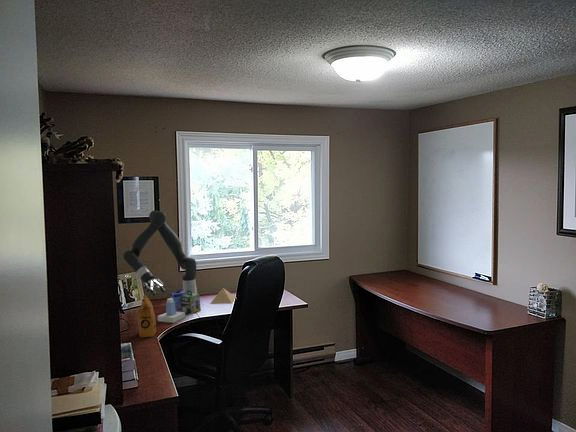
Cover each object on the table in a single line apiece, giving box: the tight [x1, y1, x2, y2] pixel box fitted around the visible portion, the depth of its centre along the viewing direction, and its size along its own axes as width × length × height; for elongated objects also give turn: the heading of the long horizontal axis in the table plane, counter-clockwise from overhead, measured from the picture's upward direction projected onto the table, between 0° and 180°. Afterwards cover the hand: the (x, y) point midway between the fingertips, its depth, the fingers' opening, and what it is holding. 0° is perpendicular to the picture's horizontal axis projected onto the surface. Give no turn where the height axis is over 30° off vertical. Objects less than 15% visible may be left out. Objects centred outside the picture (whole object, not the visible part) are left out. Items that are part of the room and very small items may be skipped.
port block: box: [157, 311, 186, 324], centre depth 285 cm, size 12×12×4 cm
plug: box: [165, 298, 176, 316], centre depth 285 cm, size 4×4×13 cm
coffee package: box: [137, 294, 157, 339], centre depth 257 cm, size 10×12×22 cm
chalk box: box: [181, 290, 201, 315], centre depth 302 cm, size 9×9×15 cm
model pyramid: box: [209, 288, 236, 305], centre depth 327 cm, size 17×17×10 cm
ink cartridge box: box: [169, 289, 186, 312], centre depth 307 cm, size 10×6×14 cm, turn 135°
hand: (160, 293), depth 288 cm, fingers open, 8 cm apart
